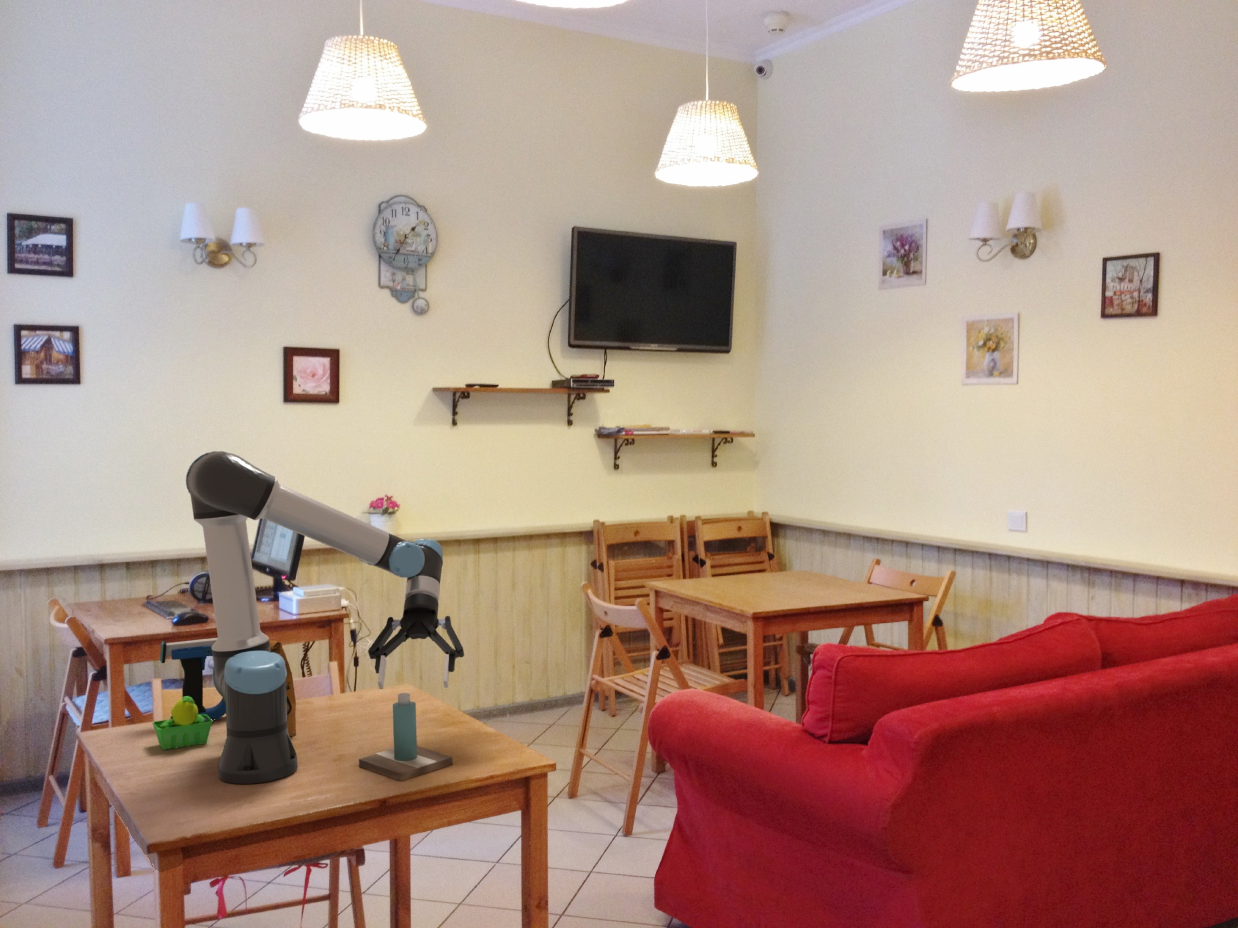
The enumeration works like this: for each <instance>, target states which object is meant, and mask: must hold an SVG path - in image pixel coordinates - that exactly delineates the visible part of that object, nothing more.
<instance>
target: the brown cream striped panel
mask: <svg viewBox="0 0 1238 928" xmlns="http://www.w3.org/2000/svg"><path fill="white" fill-rule="evenodd" d="M453 760H454V758H453V756H450V755H448V754H445V753H441V752H437V751H435V750H432V749H427V748H425V747H422V746H418V745H417V758H416V759H413V760H410V761H397V760H395V759H394V747H393V748H389V749H387V750H383V751H379V752H376V753H375V754H372V755H368V756H365V757H362V758H361V757H360V758H359V759H358V767H360V768H362V769H365V770H368V771H371V772H374V773H377V774H380V775H382V776H385V777H388V778H391V779H394V780H396V781H399V782H402V781H405V780H406V781H407V780H408V779H412V778H414V777H418V776H420V775H424V774H427V773H429V772H430V773H431V772H433V770H434V771H436V769H437V770H439V769H440V770H441V769H443V768H445V766H446V767H449V766H451V764H452V765H454V761H453ZM442 767H443V768H442Z"/></svg>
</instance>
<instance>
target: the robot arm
mask: <svg viewBox="0 0 1238 928" xmlns="http://www.w3.org/2000/svg"><path fill="white" fill-rule="evenodd" d="M188 467H189V468H188V470H187V472H186V475H185V476H186V477H185V486H186V488H187V491H188V493H189V494H190V501H191V508H192V515H193V521H195V522H196V523H197V524H199V525H200V526H201V527H202V532H203V536H204V538H203V539H204V545H205V553H206V559H207V566H208V567H207V568H208V574H209V582H210V589H211V590H210V591H211V597H212V604H213V612H214V618H215V626H216V633H217V638H218V639H217V640H216V642H215V643H214V644H213V646H212V647H211V648H212V655H213V656H212V660H213V668H212V682H213V686H214V688H215V690H216V691H217V693H218V694H219V695H220V696H221V697H223V699H224V700H225V703H226V714H225V718H226V719H225V722H226V725H225V726H226V738H225V742H224V745H223V748H222V752H221V756H220V758H219V763H218V766H217V767H218V778H219V780H221V781H223V782H225V783H231V784H237V785H239V784H243V785H250V784H261V783H267V782H272V781H275V780H280V779H284V778H286V777H287V776H288V777H289V776H290V775H292V774H294V773H295V772H296V771H297V770H298V767H299V766H298V756H297V755H298V754H297V753H296V750H295V747H294V744H293V742H292V739H291V736H289V733H288V729H287V695H286V677H287V670H286V667H285V661H284V659H283V658H282V656H280V655H279V654H277V653H274V652H271V649H270V643H269V640H270V636H268V635H266V634H265V633H264V632H263V631H261V625H260V617H259V610H258V603H257V602H258V601H257V594H256V588H255V587H256V586H255V580H254V573H253V566H252V557H251V551H250V550H251V547H250V543H249V535H248V534H249V533H248V527H247V520H248V519H250V520H253V521H257V520H260V519H264V520H267V521H269V522H270V523H273V524H276V525H278V526H280V527H283V528H285V529H288V530H290V531H292V532H294V533H297V534H299V535H301V536H304V537H306V538H309V539H311V540H314V541H315V542H318V543H321V544H323V545H325V546H328V547H330V548H333V549H335V550H337V551H340V552H342V553H344V554H346V555H349V556H352V557H354V558H356V559H358V560H359V561H360V562H362V563H366V564H367V565H368V566H373V567H376V568H379V569H381V570H383V571H385V572H389V573H391V574H393V575H394V576H396V577H400V578H402V579H405V578H406V587H405V594H404V595H405V596H404V605H403V612H402V617H401V619H394V617H393V616H389V617H387V621H386V625H385V626H384V628H383V629H382V630H381V631H380V633H379V635H378V636H377V637H376V638H375V640H374V641H373V643H372V644H371V645H370V647H369V648H368V650H367V653H368V656H369V659H370V660H375V662H374V663H375V664H374V671H375V673H376V674H378V675H377V676H378V678H377V685H378V689H379V690H383V689H384V684H385V677H386V671H387V670H386V669H387V659H386V658H387V657H389V656H390V655H391V654H392V653H393V652H394V651H395V650H396V649H397V648H398V647H399V646H401V644H403V643H406V642H407V640H409V639H411V640H417V639H421V640H426V639H427V638H429V639H430V640H431V641H432V642H434V643H435V644H436V645H437V646H438V648H439V649H440V650H442V652H443V653H444V655H445V656H444V668H443V679H442V680H443V681H442V683H443V686H444V688H449V681H450V673H453V672H455V669H456V668H455V666H456V659H457V658H463V657H464V656H465V649H464V647H463V644H462V643H461V642H460V641H461V640H459V638H458V636H457V634H456V632H455V630H454V627H453V626H452V620H451V616H450V615H446V616H444V618H438V617H439V616H438V615H439V602H440V601H439V600H440V591H441V581H442V578H441V577H442V570H443V566H444V565H443V564H444V560H443V559H444V554H443V553H444V552H443V548H442V545H441V544H440V543H439V542H438V541H436V540H434V539H432V538H428V539H426V538H420V539H417V540H415V541H413V542H412V541H410V540H406V539H403V538H401V537H399V536H396V535H394V534H392V533H390V532H388V531H386V530H383V529H380V528H379V527H376V526H374V525H372V524H370V523H368V522H366V521H363V520H361V519H359V518H357V517H353V516H352V515H349V514H347V513H345V512H343V511H341V510H338V509H336V508H334V507H331V506H329V505H327V504H324V503H323V502H320V501H318V500H315V499H313V498H312V497H309V496H306V495H304V494H302V493H300V492H298V491H296V490H293V489H292V488H288V487H287V486H284V485H282V484H280V483H279V480H278V477H276V476H274V475H271V474H270V473H267V472H266V471H264V470H262V469H260V468H259V467H257V466H255V465H254V464H252V463H250V462H249V461H248V460H246V459H244V458H243V457H241V456H240V455H237V454H234V453H230V452H227V451H222V450H221V451H215V450H214V451H211V452H206V453H204V454H201V455H199V456H198V457H197V458H196V459H194V460H193V462H191V465H190V466H188ZM439 626H441V629H444V630H446V631H445V632H446V635H447V636H448V638H449V640H450V642H451V644H452V646H451V645H450V644H449V643H448V642H447V641H446V639H444V638H443V636H442V635H440V633H439V632H438V631H437V629H438V628H439ZM398 627H400V629H398ZM397 629H398V631H397V633H396V634H395V635H394V636H393V637H391V636H392V634H393V632H394V631H396V630H397ZM390 637H391V639H390ZM453 647H454V648H453Z"/></svg>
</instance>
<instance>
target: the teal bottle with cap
mask: <svg viewBox="0 0 1238 928" xmlns="http://www.w3.org/2000/svg"><path fill="white" fill-rule="evenodd" d="M416 707H417V704H416V701H411V694H410V693H408V692H401V693H399V694H397V702H394V703H393V704H392V722H393V723H392V728H393V729H392V730H393V748H394V759H395V760H397V761H410V760H413V759H416V758H417V746H418V745H417V744H418V740H417V739H418V738H417V737H418V736H417V708H416Z"/></svg>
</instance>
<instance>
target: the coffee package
mask: <svg viewBox="0 0 1238 928" xmlns="http://www.w3.org/2000/svg"><path fill="white" fill-rule="evenodd" d="M269 643H270V649H271V652H274V653H277V654H279V655H280V656H282V658H283V659H284V661H285V667H286V670H287V677H286V695H287V729H288V733H289V736H290V737H293V736H296V735H297V720H296V719H297V717H296V710H297V709H296V708H297V702H296V695H295V694H296V693H295V685H294V679H293V678H294V677H293V673H292V670H291V666H290V663H289V661H288V658H287V656H286V653H285V649H284V648H283V645H282V642H281V641H279V640H270V639H269Z"/></svg>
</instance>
